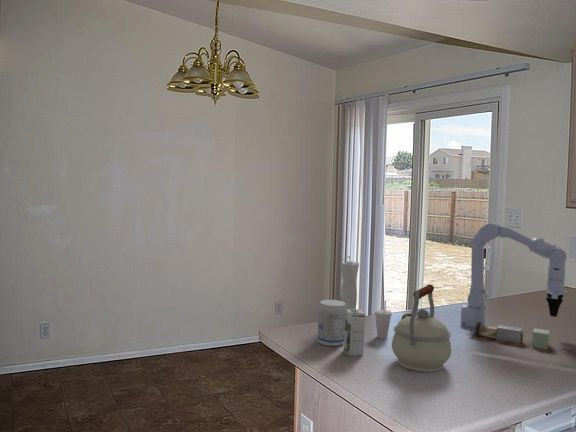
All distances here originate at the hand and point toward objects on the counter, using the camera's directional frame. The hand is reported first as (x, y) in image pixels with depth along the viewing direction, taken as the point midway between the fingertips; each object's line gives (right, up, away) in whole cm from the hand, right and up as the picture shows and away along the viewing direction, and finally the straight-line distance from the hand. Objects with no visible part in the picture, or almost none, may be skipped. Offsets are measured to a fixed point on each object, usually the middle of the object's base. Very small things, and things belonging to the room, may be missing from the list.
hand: (553, 314), depth 192 cm
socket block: (-11, -9, -11) cm, 18 cm away
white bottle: (-79, -7, +10) cm, 80 cm away
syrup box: (-80, -9, -24) cm, 84 cm away
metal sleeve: (-20, -9, -6) cm, 22 cm away
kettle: (-59, -10, -31) cm, 67 cm away
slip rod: (-22, -9, -4) cm, 24 cm away
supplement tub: (-87, -8, -13) cm, 88 cm away
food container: (-54, -9, -8) cm, 56 cm away
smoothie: (-67, -8, -4) cm, 67 cm away
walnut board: (-19, -10, -6) cm, 23 cm away
